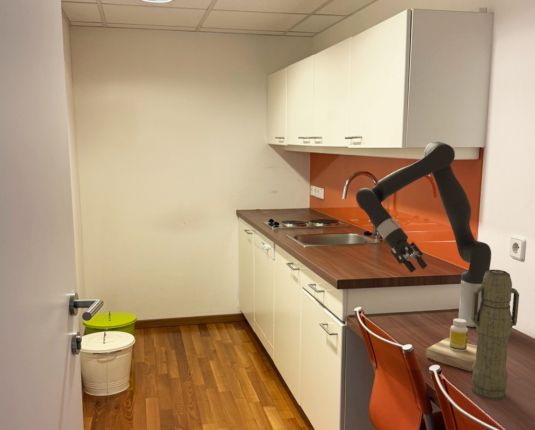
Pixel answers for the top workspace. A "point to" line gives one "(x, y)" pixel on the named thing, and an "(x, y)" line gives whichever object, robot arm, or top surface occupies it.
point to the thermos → (493, 333)
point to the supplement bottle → (458, 335)
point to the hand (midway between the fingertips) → (419, 269)
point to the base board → (453, 355)
